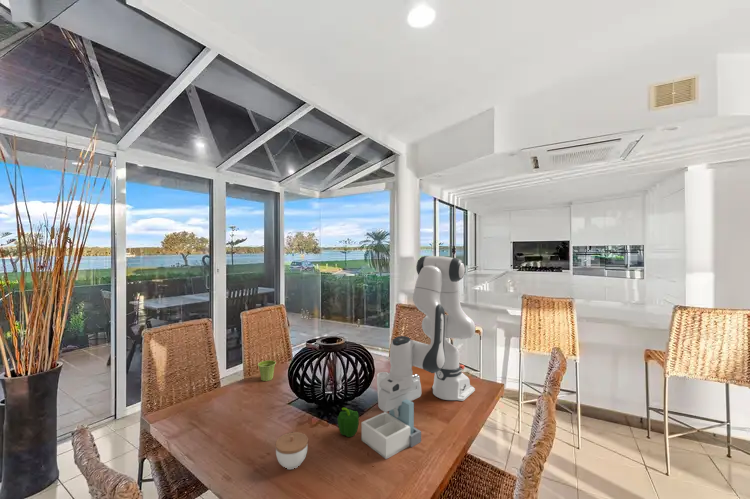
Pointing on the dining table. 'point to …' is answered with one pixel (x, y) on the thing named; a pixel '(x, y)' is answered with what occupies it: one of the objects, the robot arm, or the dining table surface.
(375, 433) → the cabinet
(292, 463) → the lidded jar
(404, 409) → the door
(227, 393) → the dining table surface
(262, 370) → the plant pot
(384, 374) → the drinking glass
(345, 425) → the bell pepper
